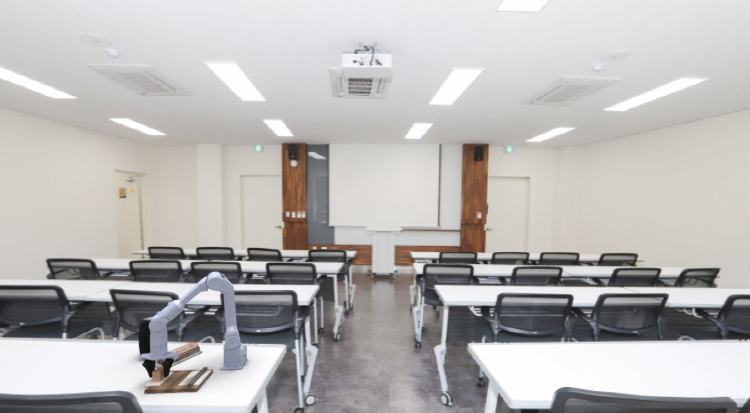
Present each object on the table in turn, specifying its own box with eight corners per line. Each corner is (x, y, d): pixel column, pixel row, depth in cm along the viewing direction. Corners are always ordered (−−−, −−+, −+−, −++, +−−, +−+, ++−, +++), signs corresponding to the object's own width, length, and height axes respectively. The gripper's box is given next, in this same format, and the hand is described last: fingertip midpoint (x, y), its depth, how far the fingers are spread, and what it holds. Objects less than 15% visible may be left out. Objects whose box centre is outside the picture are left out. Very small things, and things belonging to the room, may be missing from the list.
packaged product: (191, 339, 149) (202, 344, 144) (191, 348, 149) (202, 353, 145) (150, 355, 134) (162, 361, 129) (151, 366, 134) (162, 372, 129)
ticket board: (213, 372, 128) (213, 365, 128) (196, 391, 115) (196, 384, 115) (166, 374, 127) (166, 367, 127) (144, 393, 114) (144, 386, 114)
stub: (173, 372, 125) (173, 362, 125) (159, 386, 116) (159, 375, 116) (159, 373, 124) (159, 363, 124) (143, 386, 115) (143, 375, 115)
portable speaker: (166, 353, 144) (166, 314, 144) (147, 363, 135) (146, 321, 135) (154, 350, 147) (153, 312, 146) (134, 360, 138) (133, 319, 137)
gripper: (182, 338, 124) (183, 370, 125) (147, 340, 123) (148, 371, 124) (172, 347, 117) (172, 380, 118) (135, 348, 116) (135, 381, 117)
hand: (159, 376), depth 120 cm, fingers open, 5 cm apart
